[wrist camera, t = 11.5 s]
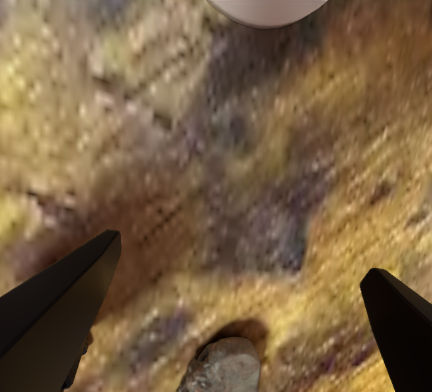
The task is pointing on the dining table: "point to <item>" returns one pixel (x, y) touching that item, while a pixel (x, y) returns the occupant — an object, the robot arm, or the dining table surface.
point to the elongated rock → (224, 368)
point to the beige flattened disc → (266, 11)
